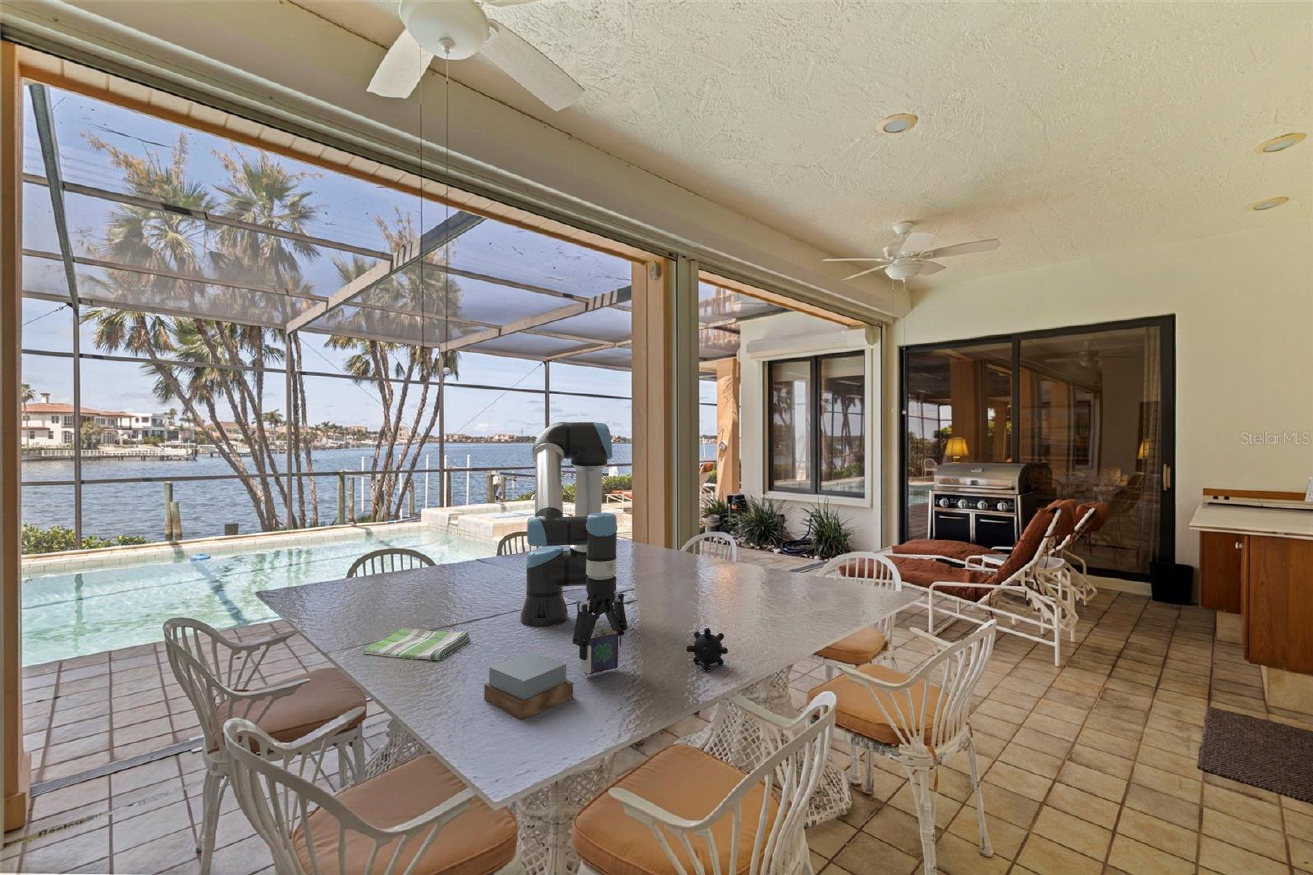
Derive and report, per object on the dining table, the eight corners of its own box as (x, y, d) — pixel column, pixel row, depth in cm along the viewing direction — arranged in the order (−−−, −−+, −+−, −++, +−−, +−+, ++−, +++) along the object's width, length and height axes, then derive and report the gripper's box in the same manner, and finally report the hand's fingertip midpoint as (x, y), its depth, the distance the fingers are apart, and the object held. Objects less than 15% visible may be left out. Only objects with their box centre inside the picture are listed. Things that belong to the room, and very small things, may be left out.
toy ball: (737, 648, 150) (736, 652, 139) (709, 677, 150) (705, 683, 138) (710, 617, 154) (706, 619, 142) (681, 645, 153) (676, 649, 142)
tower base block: (535, 682, 137) (535, 665, 137) (573, 700, 128) (573, 682, 128) (484, 702, 126) (484, 684, 127) (520, 722, 117) (520, 703, 117)
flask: (585, 675, 137) (586, 631, 137) (581, 671, 140) (581, 628, 140) (619, 668, 142) (620, 625, 142) (614, 664, 144) (615, 622, 144)
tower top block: (531, 668, 135) (531, 651, 135) (566, 681, 128) (566, 663, 128) (489, 685, 126) (489, 667, 126) (523, 700, 119) (523, 681, 119)
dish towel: (437, 664, 148) (437, 650, 148) (361, 657, 153) (361, 644, 153) (472, 641, 165) (472, 629, 165) (402, 635, 169) (402, 624, 170)
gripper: (577, 586, 130) (576, 684, 130) (642, 570, 146) (641, 657, 146) (557, 581, 135) (556, 675, 135) (621, 566, 151) (621, 650, 151)
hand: (600, 665), depth 141 cm, fingers closed on flask, 9 cm apart
